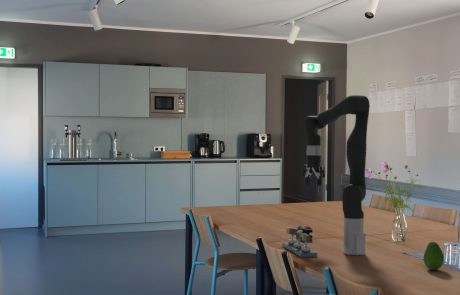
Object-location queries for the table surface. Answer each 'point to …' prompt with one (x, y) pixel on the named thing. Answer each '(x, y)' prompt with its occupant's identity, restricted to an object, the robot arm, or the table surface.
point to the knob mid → (298, 236)
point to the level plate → (299, 250)
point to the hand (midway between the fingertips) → (313, 185)
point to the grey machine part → (306, 231)
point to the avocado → (433, 256)
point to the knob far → (292, 232)
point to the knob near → (306, 239)
